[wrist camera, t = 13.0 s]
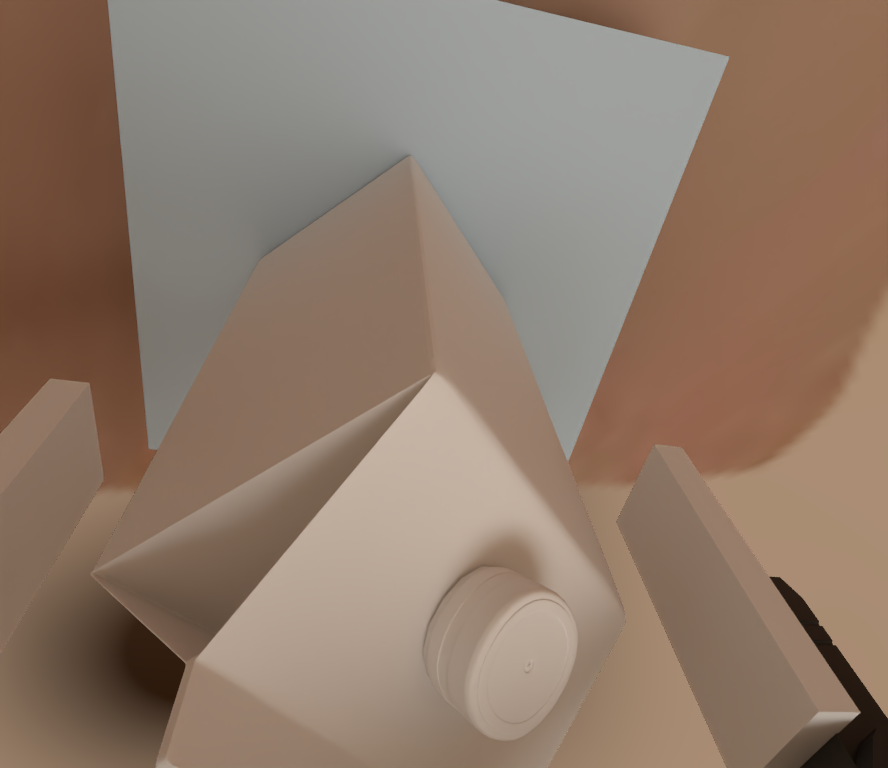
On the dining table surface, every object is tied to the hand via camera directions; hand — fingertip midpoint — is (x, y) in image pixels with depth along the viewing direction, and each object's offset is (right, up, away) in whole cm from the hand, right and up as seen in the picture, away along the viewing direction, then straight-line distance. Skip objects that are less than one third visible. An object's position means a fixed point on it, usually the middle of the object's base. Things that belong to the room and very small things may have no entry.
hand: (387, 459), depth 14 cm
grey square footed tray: (-1, +10, +15) cm, 18 cm away
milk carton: (-1, +6, +10) cm, 11 cm away
